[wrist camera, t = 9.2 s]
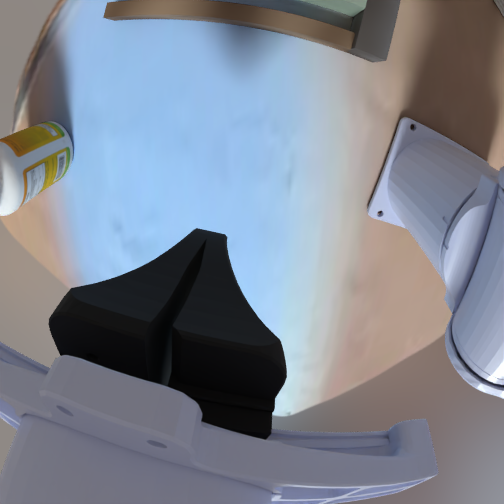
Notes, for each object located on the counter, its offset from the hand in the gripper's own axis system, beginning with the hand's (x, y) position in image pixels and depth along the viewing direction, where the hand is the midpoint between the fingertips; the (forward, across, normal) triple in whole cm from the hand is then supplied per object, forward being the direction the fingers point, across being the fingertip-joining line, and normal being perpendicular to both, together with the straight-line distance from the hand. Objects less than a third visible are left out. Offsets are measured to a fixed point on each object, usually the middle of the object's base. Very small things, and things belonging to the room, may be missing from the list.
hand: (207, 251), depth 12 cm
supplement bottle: (+10, +16, 0) cm, 19 cm away
